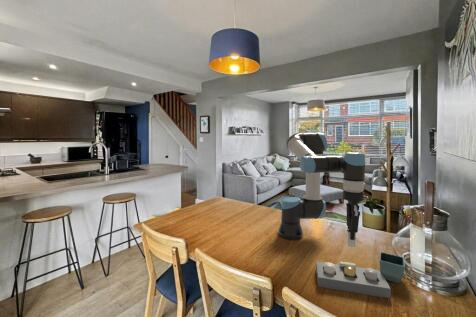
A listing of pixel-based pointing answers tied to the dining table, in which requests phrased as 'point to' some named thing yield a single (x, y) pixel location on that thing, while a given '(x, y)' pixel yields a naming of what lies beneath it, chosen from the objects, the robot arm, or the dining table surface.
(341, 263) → the block
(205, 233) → the dining table surface
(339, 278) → the console
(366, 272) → the white rounded dome
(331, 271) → the white rounded piece
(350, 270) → the brass button
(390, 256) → the flower pot
